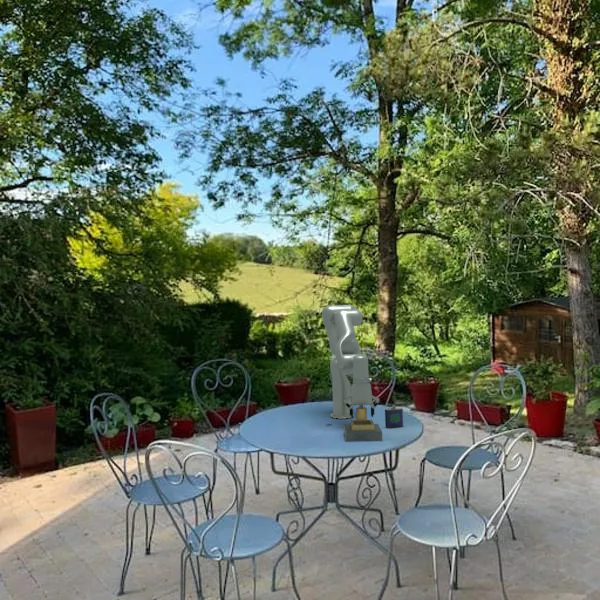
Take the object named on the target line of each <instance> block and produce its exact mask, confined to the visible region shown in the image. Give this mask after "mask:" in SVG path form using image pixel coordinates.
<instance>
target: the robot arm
mask: <svg viewBox="0 0 600 600" xmlns="http://www.w3.org/2000/svg"><path fill="white" fill-rule="evenodd" d="M321 320H322V322H323V325H324V328H325V329H326V331H327V332H326V333H327V338H328V345H329V350H330V353H331V355H332V356H334V357H335V358H332V359H331V360H330V364H329V366H330V367H329V368H330V373H331V379H332V381H331V382H332V383H331V384H332V406H333V407H332V411H333V412H331V413H330V415H329V416H330V418H332V417H333V418H332V419H336V418H338V420H347V419H346V418H348V419H353V418H354V417H355V413H354V409H353V408H354V406H360V405H363V406H369V407H370V416H371V418H374V415H375V408H376V407H377V406H378V404H379V402H380V398H379V397H377V396H374V395H373V392H372V385H371V383H370V382H372V380H373V379H372V378H370V376H369V358H368V356H367V355H364V354H362V352H361V347H360V344H359V340H358V339H357V338H356V337H357V334H356V331H355V327H354V326H359V325H361V324H362V322H363V315H362V312H361V311H360V310H359V309H358V307H356V306H354V305H352V304H333V305H327V306H325V307H323V308H322V309H321ZM349 375H352V383H351V382H350V380H349V379H348V377H347V376H349ZM373 400H374V401H375V402H374V403H373Z"/></svg>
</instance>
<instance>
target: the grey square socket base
mask: <svg viewBox="0 0 600 600" xmlns="http://www.w3.org/2000/svg"><path fill="white" fill-rule="evenodd" d="M343 434H344V438H346V439H345V442H372V441H373V442H375V441H376V442H377V441H379V442H380V441H383V430H382V429H381V427H380V425H379V423H374V421H373V419H367V420H356V419H350V424H344V425H343Z"/></svg>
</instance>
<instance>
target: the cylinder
mask: <svg viewBox="0 0 600 600" xmlns="http://www.w3.org/2000/svg"><path fill="white" fill-rule="evenodd" d="M367 409H368V408H367V407H366V406H365V407H364V405H358V407H356V408H355V410H356V411H355V412H356V413H355V414H356V417H355V418H356V419H355V420H368V417H367V416H368V414H367V413H368V410H367Z"/></svg>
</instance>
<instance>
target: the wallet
mask: <svg viewBox="0 0 600 600" xmlns="http://www.w3.org/2000/svg"><path fill="white" fill-rule="evenodd" d="M403 409H404V408H402V407H397V406H396V405H395V404H394V405H392V407H390V408H389V407H387V408H386V409H384V415H385V416H384V417H385V418H384V421H385V422H384V423H385V429H395V428H396V427H397V428H402V427H404V415H403V414H404V411H403Z"/></svg>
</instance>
